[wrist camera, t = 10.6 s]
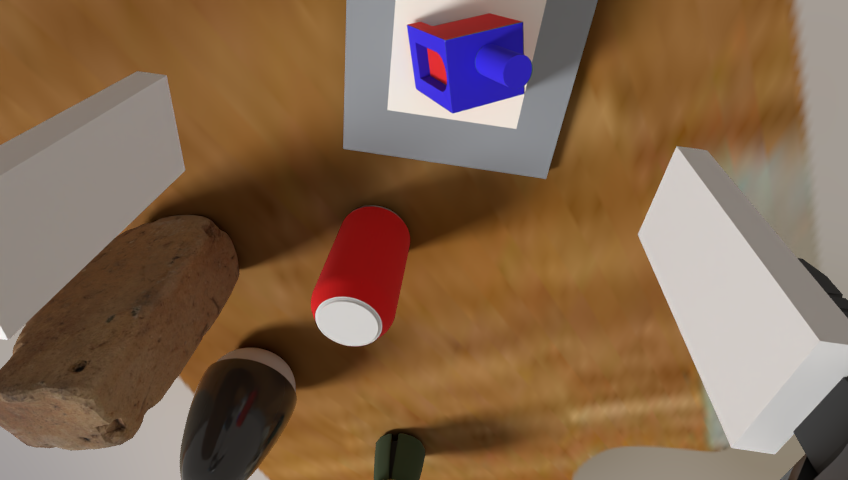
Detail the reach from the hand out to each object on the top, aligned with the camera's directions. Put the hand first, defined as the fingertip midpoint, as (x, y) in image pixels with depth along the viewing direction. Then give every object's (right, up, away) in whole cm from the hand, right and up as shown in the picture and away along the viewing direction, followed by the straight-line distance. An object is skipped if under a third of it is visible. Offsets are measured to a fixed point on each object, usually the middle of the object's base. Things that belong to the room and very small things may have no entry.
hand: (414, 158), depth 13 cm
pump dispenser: (-18, -16, +44) cm, 50 cm away
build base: (+3, +12, +21) cm, 25 cm away
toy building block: (+3, +9, +15) cm, 18 cm away
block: (-22, -3, +35) cm, 41 cm away
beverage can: (-4, -1, +32) cm, 32 cm away
